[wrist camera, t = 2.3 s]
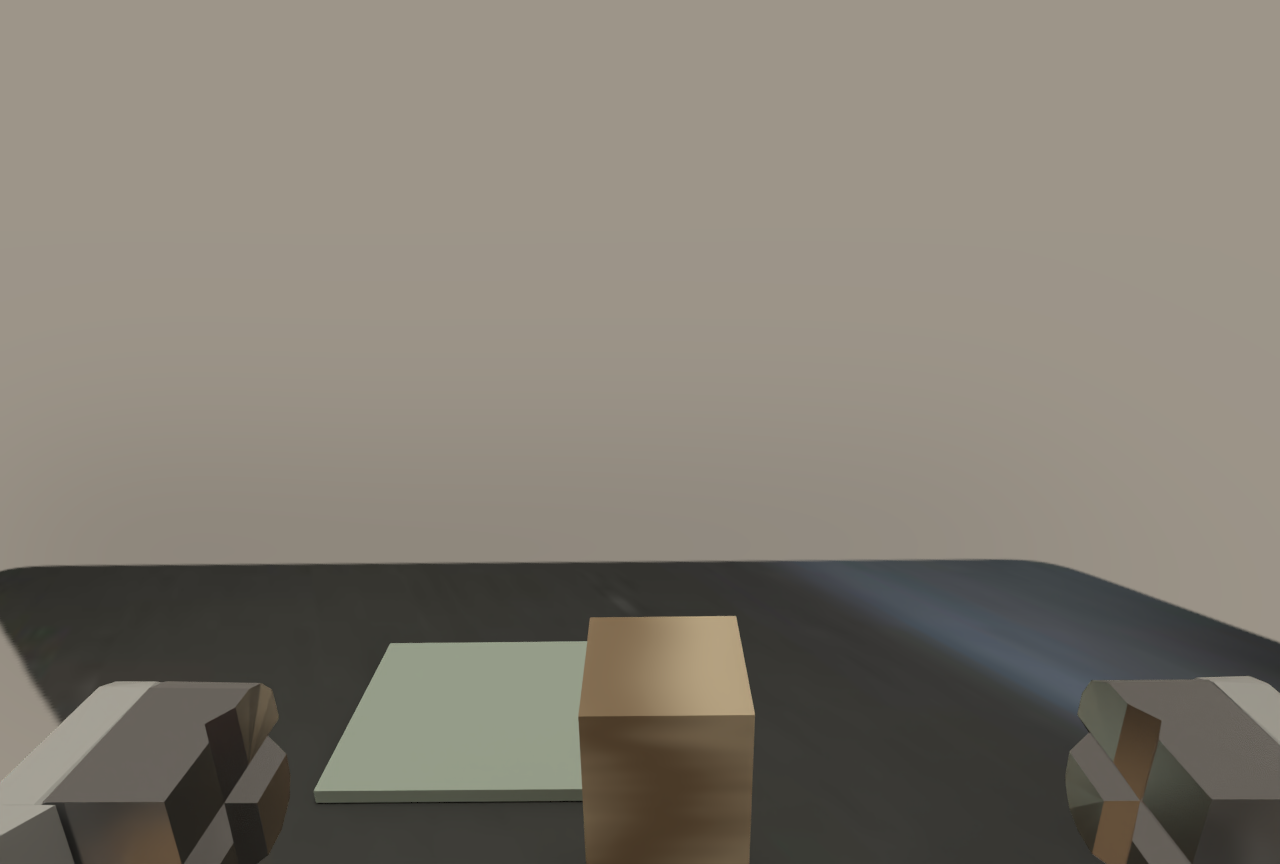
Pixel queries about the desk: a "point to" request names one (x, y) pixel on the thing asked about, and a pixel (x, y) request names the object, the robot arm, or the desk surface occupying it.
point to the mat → (464, 726)
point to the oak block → (666, 741)
